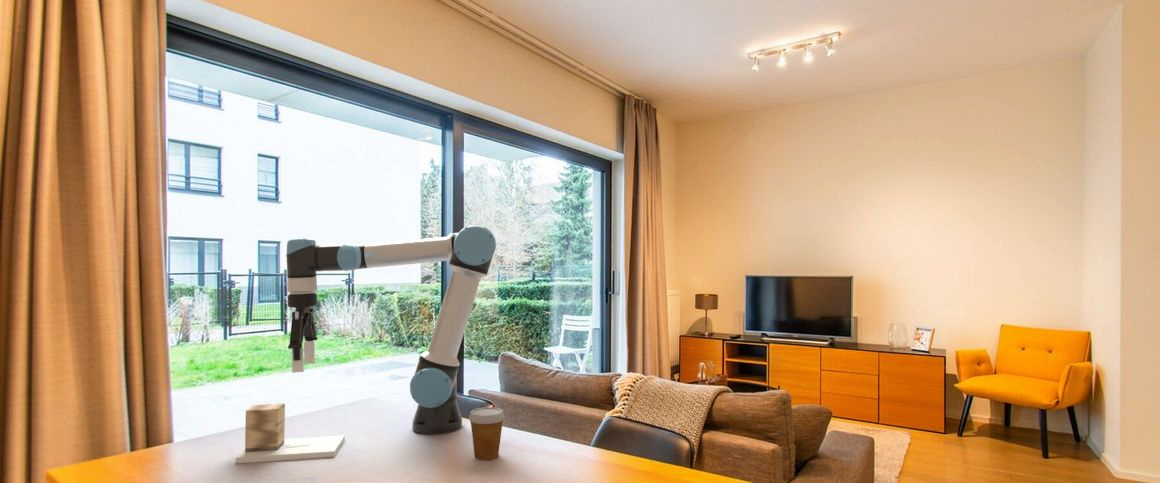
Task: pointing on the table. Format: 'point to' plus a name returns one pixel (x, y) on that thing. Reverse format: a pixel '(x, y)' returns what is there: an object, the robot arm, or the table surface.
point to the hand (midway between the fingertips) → (304, 367)
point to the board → (296, 450)
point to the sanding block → (264, 427)
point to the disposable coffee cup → (486, 432)
